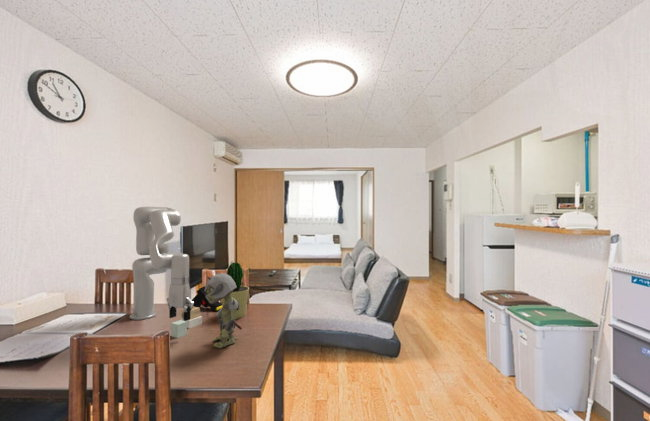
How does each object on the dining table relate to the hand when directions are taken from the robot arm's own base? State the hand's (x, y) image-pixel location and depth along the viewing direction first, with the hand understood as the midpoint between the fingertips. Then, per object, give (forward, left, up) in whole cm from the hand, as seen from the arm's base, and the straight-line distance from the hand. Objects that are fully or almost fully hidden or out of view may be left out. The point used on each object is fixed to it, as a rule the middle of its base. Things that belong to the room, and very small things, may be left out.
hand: (179, 318), depth 140 cm
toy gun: (-23, +34, -8) cm, 42 cm away
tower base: (-8, +12, -8) cm, 16 cm away
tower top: (-8, +12, -4) cm, 15 cm away
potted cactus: (+1, +33, -8) cm, 34 cm away
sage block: (-1, 0, -8) cm, 8 cm away
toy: (+23, +4, -8) cm, 25 cm away
